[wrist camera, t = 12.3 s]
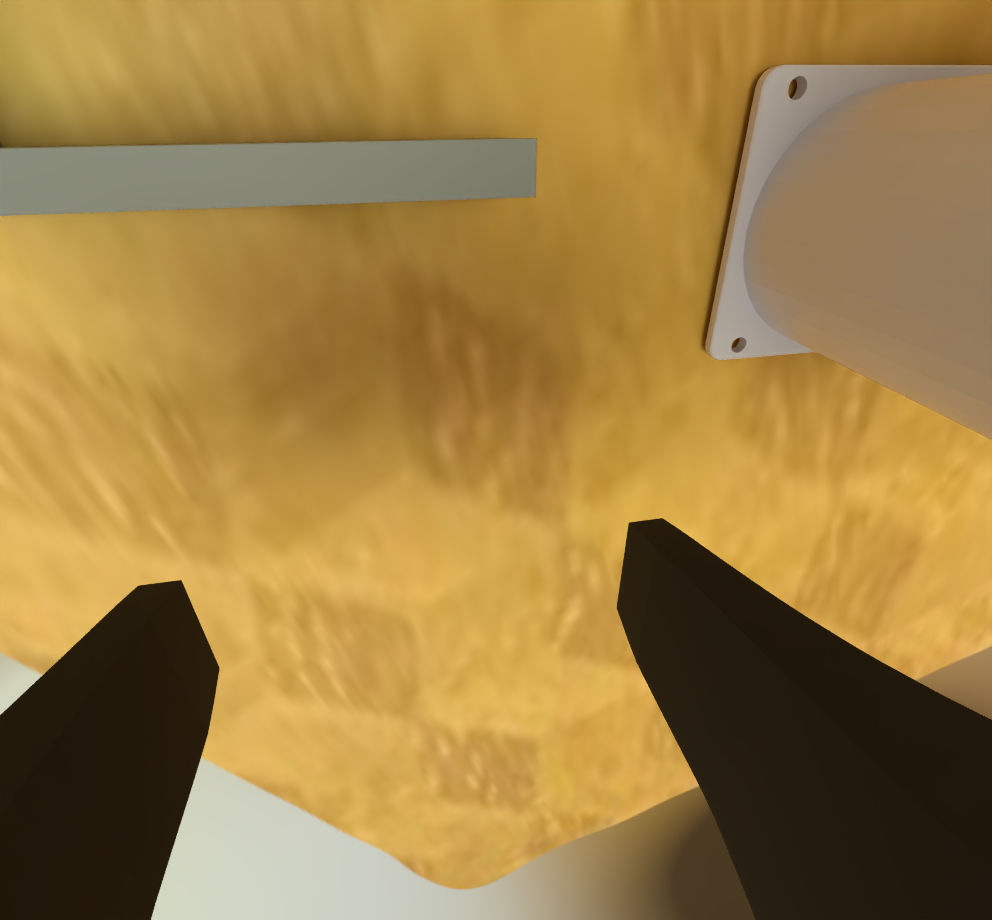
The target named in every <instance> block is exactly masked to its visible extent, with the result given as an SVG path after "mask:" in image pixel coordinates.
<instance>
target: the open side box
mask: <svg viewBox="0 0 992 920" xmlns="http://www.w3.org/2000/svg"><path fill="white" fill-rule="evenodd" d="M536 147H537V139H533V138H461V139H407V140H353V141H299V142H245V143H191V144H137V145H83V146H28V147H2V146H1V144H0V216H8V215H37V214H65V213H94V212H122V211H151V210H179V209H208V208H236V207H265V206H293V205H322V204H350V203H379V202H407V201H436V200H464V199H493V198H521V197H535V194H536Z"/></svg>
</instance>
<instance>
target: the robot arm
mask: <svg viewBox="0 0 992 920" xmlns="http://www.w3.org/2000/svg"><path fill="white" fill-rule="evenodd" d="M794 78H795V80H796V82H797V90H796V93H795V95H794V96H793V97H792V98H791V99H790V97H789V95H788V88H789V85H790V83H791V81H792V80H793V79H794ZM737 338H740V341H739V343H738V345H737V346H736V347H734V348H732V349H731V345H732V343H733V341H735V340H736V339H737ZM705 349H706V351H707V354H709V355H710V356H712V357H713V358H715V359H716V360H728V359H740V358H752V357H764V356H775V355H787V354H799V353H811V352H817V353H819V354H821V355H823V356H825V357H827V358H829V359H831V360H833V361H835V362H837V363H839V364H841V365H843V366H845V367H847V368H849V369H851V370H853V371H855V372H857V373H859V374H861V375H863V376H865V377H867V378H869V379H871V380H873V381H875V382H877V383H879V384H881V385H883V386H885V387H887V388H889V389H891V390H893V391H895V392H897V393H899V394H901V395H903V396H905V397H907V398H909V399H911V400H913V401H915V402H917V403H919V404H921V405H923V406H925V407H927V408H929V409H931V410H933V411H935V412H937V413H939V414H941V415H943V416H945V417H947V418H949V419H951V420H953V421H955V422H957V423H959V424H961V425H963V426H965V427H967V428H969V429H971V430H973V431H975V432H977V433H979V434H981V435H983V436H985V437H987V438H989V439H991V440H992V65H780V66H775V67H771V68H769V69H768V70H766V71H765V72H764V73H763V74H762V76H761V77H760V78H759V80H758V82H757V85H756V88H755V92H754V97H753V103H752V108H751V113H750V118H749V123H748V128H747V133H746V139H745V144H744V149H743V154H742V159H741V164H740V169H739V174H738V180H737V185H736V190H735V195H734V200H733V205H732V210H731V216H730V221H729V226H728V231H727V236H726V241H725V246H724V251H723V257H722V262H721V267H720V272H719V277H718V282H717V287H716V293H715V298H714V303H713V308H712V313H711V318H710V323H709V328H708V334H707V339H706V344H705ZM617 610H618V613H619V616H620V619H621V621H622V624H623V627H624V630H625V633H626V636H627V638H628V641H629V644H630V646H631V649H632V652H633V654H634V657H635V659H636V662H637V664H638V666H639V668H640V670H641V672H642V674H643V676H644V678H645V680H646V682H647V684H648V686H649V688H650V690H651V692H652V694H653V696H654V698H655V700H656V702H657V704H658V706H659V708H660V710H661V712H662V714H663V716H664V718H665V720H666V722H667V723H668V725H669V727H670V729H671V731H672V733H673V735H674V737H675V739H676V741H677V743H678V745H679V747H680V749H681V751H682V753H683V755H684V757H685V759H686V761H687V762H688V764H689V766H690V768H691V770H692V772H693V774H694V776H695V778H696V780H697V782H698V784H699V786H700V788H701V790H702V792H703V794H704V796H705V798H706V800H707V803H708V805H709V807H710V809H711V811H712V813H713V815H714V818H715V820H716V822H717V824H718V827H719V829H720V831H721V834H722V837H723V839H724V842H725V844H726V846H727V849H728V851H729V854H730V856H731V859H732V861H733V864H734V866H735V868H736V871H737V873H738V876H739V878H740V881H741V883H742V886H743V888H744V891H745V893H746V896H747V898H748V901H749V904H750V906H751V909H752V911H753V914H754V917H755V919H756V920H992V720H991V719H989V718H987V717H985V716H983V715H980V714H979V713H977V712H975V711H973V710H971V709H969V708H967V707H965V706H963V705H961V704H959V703H957V702H955V701H953V700H951V699H949V698H947V697H945V696H943V695H941V694H939V693H938V692H935V691H934V690H932V689H930V688H928V687H926V686H925V685H923V684H921V683H919V682H917V681H915V680H914V679H912V678H910V677H908V676H906V675H904V674H903V673H901V672H899V671H897V670H895V669H893V668H892V667H890V666H888V665H886V664H884V663H882V662H881V661H879V660H877V659H875V658H874V657H872V656H870V655H868V654H867V653H865V652H863V651H862V650H860V649H858V648H856V647H855V646H853V645H851V644H850V643H848V642H846V641H845V640H843V639H842V638H840V637H838V636H837V635H835V634H834V633H832V632H830V631H829V630H827V629H825V628H824V627H822V626H821V625H819V624H817V623H816V622H814V621H812V620H811V619H809V618H808V617H806V616H804V615H803V614H801V613H800V612H798V611H797V610H795V609H794V608H792V607H791V606H789V605H788V604H786V603H784V602H783V601H781V600H780V599H778V598H777V597H775V596H774V595H772V594H771V593H769V592H768V591H767V590H765V589H764V588H762V587H761V586H759V585H758V584H756V583H755V582H753V581H752V580H750V579H749V578H747V577H746V576H745V575H743V574H742V573H740V572H739V571H737V570H736V569H735V568H733V567H732V566H730V565H729V564H727V563H726V562H725V561H723V560H722V559H720V558H719V557H718V556H716V555H715V554H713V553H712V552H710V551H709V550H708V549H706V548H705V547H703V546H702V545H701V544H699V543H698V542H696V541H695V540H694V539H692V538H691V537H689V536H688V535H686V534H685V533H684V532H682V531H681V530H679V529H678V528H676V527H675V526H673V525H672V524H670V523H669V522H667V521H666V520H664V519H663V518H661V519H653V520H645V521H637V522H630V523H629V525H628V532H627V539H626V546H625V553H624V560H623V567H622V574H621V581H620V588H619V595H618V602H617ZM218 674H219V666H218V664H217V661H216V659H215V657H214V654H213V652H212V650H211V647H210V645H209V643H208V641H207V638H206V636H205V634H204V631H203V629H202V627H201V624H200V622H199V620H198V618H197V615H196V613H195V611H194V608H193V606H192V604H191V601H190V599H189V597H188V594H187V592H186V590H185V588H184V585H183V583H182V581H181V580H179V581H171V582H163V583H156V584H148V585H140V586H138V587H136V588H135V589H134V590H133V591H132V592H131V593H130V594H128V595H127V596H126V597H125V598H124V599H123V600H122V601H121V602H120V603H119V604H117V605H116V606H115V607H114V608H113V609H112V610H111V611H110V612H109V613H108V614H107V615H106V616H105V617H104V618H103V619H102V620H100V621H99V622H98V623H97V624H96V625H95V626H94V627H93V628H92V629H91V630H90V631H89V632H88V633H87V634H86V635H85V636H84V637H83V638H82V639H81V640H80V641H78V642H77V643H76V644H75V645H74V646H73V647H72V648H71V649H70V650H69V651H68V652H67V653H66V654H65V655H64V656H63V657H62V658H61V659H60V660H59V661H58V662H56V663H55V664H54V665H53V666H52V667H51V668H50V669H49V670H48V671H47V672H46V673H45V674H44V675H43V676H42V677H40V678H39V679H38V680H37V681H36V682H35V683H34V684H33V685H32V686H31V687H30V688H29V689H28V690H27V691H26V692H25V693H23V695H21V696H20V697H19V698H18V699H17V700H16V701H15V702H14V703H13V704H12V705H11V706H10V707H9V708H8V709H7V710H5V711H4V712H3V713H2V714H1V715H0V920H151V917H152V913H153V910H154V906H155V903H156V900H157V896H158V893H159V890H160V887H161V884H162V880H163V877H164V874H165V871H166V868H167V865H168V861H169V858H170V854H171V852H172V849H173V845H174V842H175V839H176V835H177V833H178V829H179V826H180V823H181V820H182V816H183V814H184V810H185V807H186V804H187V801H188V798H189V794H190V791H191V788H192V785H193V781H194V778H195V775H196V772H197V768H198V765H199V762H200V759H201V755H202V752H203V749H204V745H205V742H206V738H207V735H208V730H209V725H210V720H211V715H212V710H213V705H214V699H215V693H216V687H217V680H218Z"/></svg>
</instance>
